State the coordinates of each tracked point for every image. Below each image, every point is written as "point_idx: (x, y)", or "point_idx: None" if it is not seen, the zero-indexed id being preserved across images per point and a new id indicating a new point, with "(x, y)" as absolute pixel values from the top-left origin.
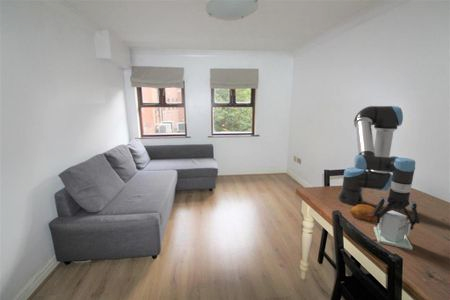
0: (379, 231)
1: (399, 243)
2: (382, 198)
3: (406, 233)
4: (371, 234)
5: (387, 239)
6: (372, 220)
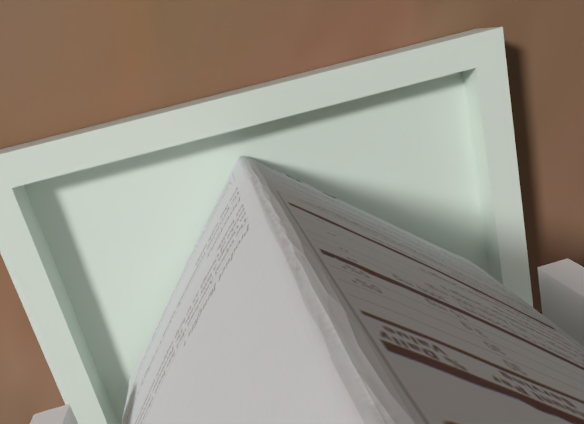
0: (102, 239)
1: None
2: None
3: None
4: (9, 389)
5: None
6: None
